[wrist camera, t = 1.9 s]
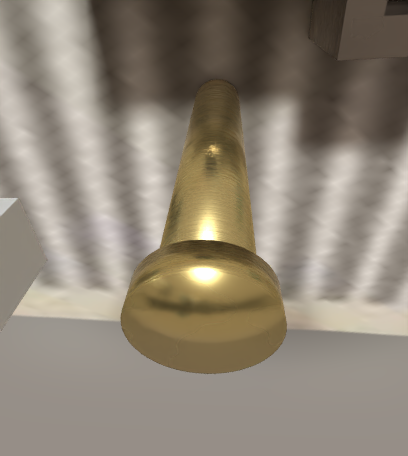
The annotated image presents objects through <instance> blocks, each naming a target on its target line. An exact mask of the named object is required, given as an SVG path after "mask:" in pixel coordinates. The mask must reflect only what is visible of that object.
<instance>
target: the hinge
mask: <svg viewBox="0 0 408 456" xmlns="http://www.w3.org/2000/svg"><path fill="white" fill-rule="evenodd" d="M309 39H310V40H311V41H313V42H314V43H315V44H316V45H318V46H319V47H320V48H322V49H323V50H324V51H325V52H327V53H328V54H329V55H331V56H332V57H333V58H334V59H336V60H337V61H341V60H358V59H376V58H394V57H408V0H402V1H387V0H313V5H312V14H311V23H310V32H309Z"/></svg>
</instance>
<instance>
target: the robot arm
mask: <svg viewBox="0 0 408 456" xmlns="http://www.w3.org/2000/svg"><path fill="white" fill-rule="evenodd" d="M46 261H47V258H46V256H45V254H44V252H43V249H42V247H41V245H40V243H39V241H38V239H37V237H36V234H35V232H34V230H33V228H32V226H31V224H30V222H29V220H28V217H27V215H26V213H25V211H24V209H23V207H22V205H21V202H20V200H19V198H0V332H1V331H2V329H3V328H4V326H5V324H6V323H7V321H8V320H9V318H10V317H11V315H12V314H13V312H14V311H15V309H16V308H17V306H18V305H19V303H20V301H21V300H22V298H23V297H24V295H25V294H26V292H27V291H28V289H29V288H30V286H31V284H32V283H33V281H34V280H35V278H36V277H37V275H38V274H39V272H40V271H41V269H42V268H43V266H44V264H45V263H46Z"/></svg>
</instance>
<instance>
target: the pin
mask: <svg viewBox="0 0 408 456" xmlns="http://www.w3.org/2000/svg"><path fill="white" fill-rule="evenodd" d="M121 326H122V330H123V332H124V334H125V336H126V338H127V339H128V341H129V342H130V343H131V345H132V346H133V347H134V348H135V349H137V350H138V351H139V352H140V353H141V354H143V355H144V356H146V357H147V358H149V359H151V360H153V361H155V362H157V363H159V364H161V365H164V366H167V367H170V368H173V369H177V370H181V371H186V372H193V373H204V374H205V373H206V374H212V373H213V374H216V373H227V372H233V371H238V370H242V369H245V368H248V367H251V366H254V365H256V364H258V363H260V362H262V361H264V360H265V359H267V358H268V357H269V356H271V355H272V354H273V353H274V352H275V351H276V350H277V349H278V348H279V347H280V345H281V344H282V342H283V340H284V338H285V335H286V331H287V323H286V317H285V311H284V306H283V300H282V294H281V289H280V283H279V281H278V278H277V276H276V274H275V272H274V271H273V269H272V268H271V267H270V266H269V265H268V264H267V263H266V262H265V261H264V260H263V259H262V258H261V257H259V256H258V255H256V248H255V239H254V230H253V221H252V212H251V203H250V194H249V185H248V176H247V167H246V158H245V149H244V140H243V131H242V122H241V113H240V104H239V96H238V93H237V91H236V89H235V88H234V87H233V86H232V85H231V84H230V83H229V82H227V81H224V80H220V79H215V80H210V81H208V82H206V83H205V84H203V85H202V86H201V87H200V89H199V90H198V92H197V94H196V98H195V102H194V107H193V111H192V115H191V119H190V123H189V128H188V132H187V136H186V140H185V144H184V149H183V153H182V157H181V161H180V165H179V170H178V174H177V178H176V182H175V187H174V191H173V195H172V199H171V203H170V208H169V212H168V216H167V220H166V224H165V229H164V233H163V237H162V241H161V245H160V249H158V250H156V251H154V252H152V253H151V254H150V255H148V256H147V257H146V258H144V259H143V261H142V262H141V263H140V264H139V265H138V267H137V268H136V270H135V271H134V274H133V276H132V279H131V282H130V286H129V289H128V292H127V295H126V299H125V302H124V305H123V308H122V313H121Z"/></svg>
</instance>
